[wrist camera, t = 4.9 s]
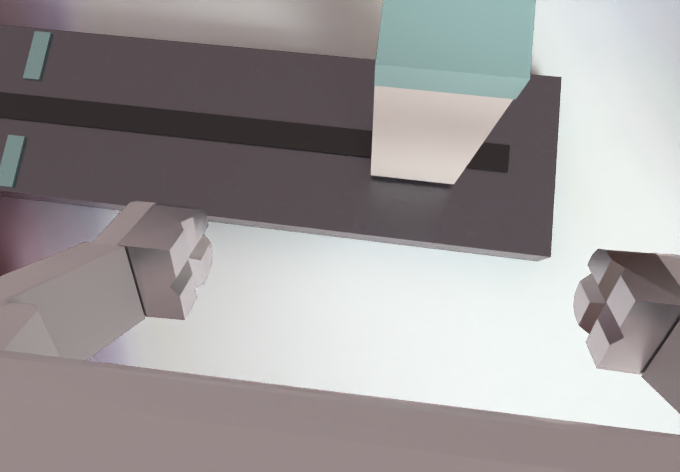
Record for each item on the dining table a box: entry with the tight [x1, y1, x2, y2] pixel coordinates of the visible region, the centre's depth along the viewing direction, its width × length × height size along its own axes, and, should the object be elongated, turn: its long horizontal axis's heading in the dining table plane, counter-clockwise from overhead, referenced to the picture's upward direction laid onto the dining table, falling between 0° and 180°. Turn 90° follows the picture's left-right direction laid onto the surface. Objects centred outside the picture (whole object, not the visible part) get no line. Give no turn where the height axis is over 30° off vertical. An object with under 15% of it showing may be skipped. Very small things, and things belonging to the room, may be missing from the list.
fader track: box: [0, 25, 561, 261], centre depth 21 cm, size 8×32×2 cm, turn 82°
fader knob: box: [371, 0, 536, 184], centre depth 15 cm, size 3×4×9 cm
